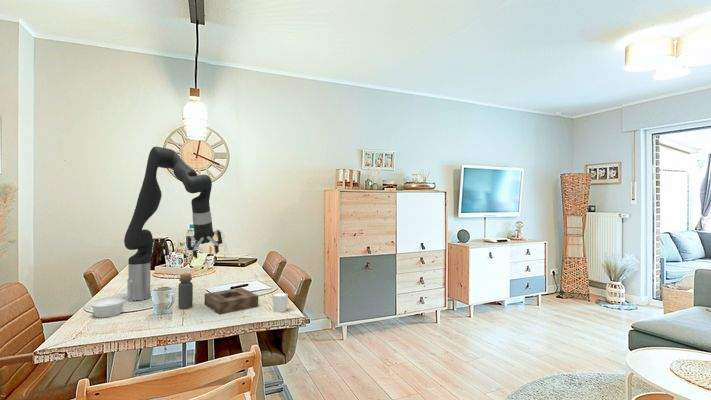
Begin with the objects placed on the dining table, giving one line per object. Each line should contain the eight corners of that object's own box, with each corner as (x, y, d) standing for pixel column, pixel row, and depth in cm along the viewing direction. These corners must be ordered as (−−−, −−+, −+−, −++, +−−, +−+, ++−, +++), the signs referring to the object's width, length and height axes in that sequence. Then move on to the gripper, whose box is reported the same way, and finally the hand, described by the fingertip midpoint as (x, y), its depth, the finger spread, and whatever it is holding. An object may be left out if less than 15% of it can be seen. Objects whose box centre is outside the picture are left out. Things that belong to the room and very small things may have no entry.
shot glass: (290, 308, 168) (290, 293, 167) (282, 313, 161) (283, 297, 161) (277, 307, 170) (277, 291, 170) (269, 311, 163) (269, 295, 163)
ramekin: (89, 320, 150) (89, 307, 150) (94, 312, 160) (94, 300, 160) (122, 316, 155) (122, 303, 155) (124, 309, 165) (124, 297, 165)
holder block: (219, 314, 159) (219, 302, 159) (204, 304, 172) (204, 293, 172) (258, 306, 171) (258, 295, 170) (241, 297, 184) (241, 287, 184)
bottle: (181, 305, 171) (181, 272, 170) (194, 305, 171) (194, 272, 171) (176, 309, 165) (176, 275, 165) (189, 309, 165) (190, 275, 165)
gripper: (217, 215, 168) (220, 248, 172) (182, 221, 160) (187, 256, 165) (221, 220, 162) (225, 254, 166) (186, 226, 154) (191, 262, 159)
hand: (206, 255), depth 166 cm, fingers open, 8 cm apart
